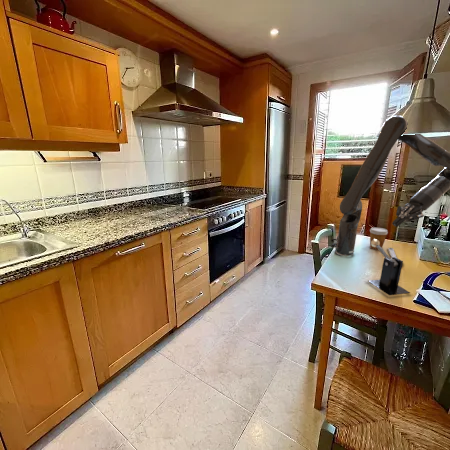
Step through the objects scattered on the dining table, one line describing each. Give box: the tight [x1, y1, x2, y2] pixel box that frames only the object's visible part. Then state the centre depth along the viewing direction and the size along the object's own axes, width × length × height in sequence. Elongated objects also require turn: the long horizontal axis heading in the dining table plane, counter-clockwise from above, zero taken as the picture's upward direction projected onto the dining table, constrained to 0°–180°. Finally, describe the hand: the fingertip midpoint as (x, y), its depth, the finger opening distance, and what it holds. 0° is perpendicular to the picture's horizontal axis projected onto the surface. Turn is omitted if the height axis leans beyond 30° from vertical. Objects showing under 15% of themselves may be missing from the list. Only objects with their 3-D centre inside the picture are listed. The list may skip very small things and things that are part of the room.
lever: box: [371, 239, 398, 268], centre depth 106 cm, size 15×4×4 cm, turn 10°
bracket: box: [368, 257, 411, 296], centre depth 103 cm, size 12×10×14 cm
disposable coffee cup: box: [369, 227, 389, 251], centre depth 149 cm, size 10×10×12 cm
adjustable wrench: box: [387, 247, 404, 266], centre depth 136 cm, size 25×6×2 cm, turn 148°
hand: (394, 225), depth 109 cm, fingers closed
